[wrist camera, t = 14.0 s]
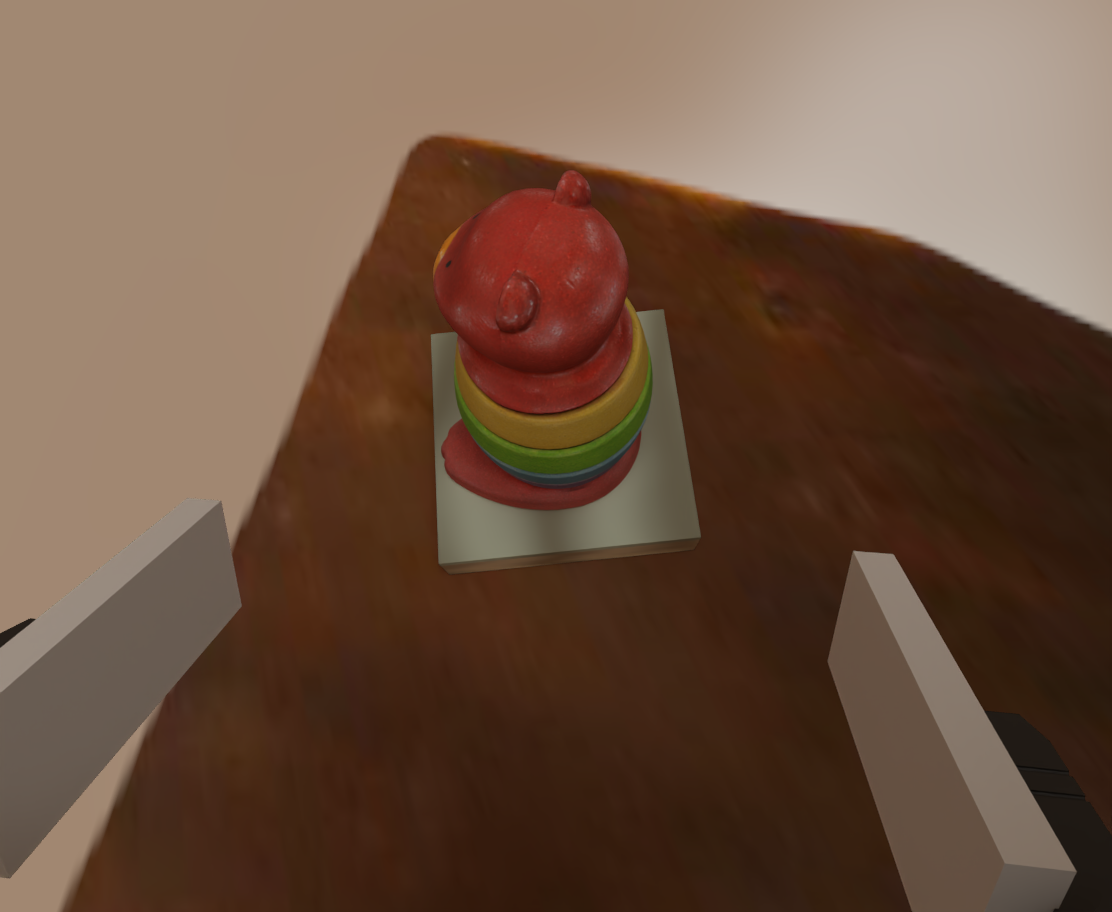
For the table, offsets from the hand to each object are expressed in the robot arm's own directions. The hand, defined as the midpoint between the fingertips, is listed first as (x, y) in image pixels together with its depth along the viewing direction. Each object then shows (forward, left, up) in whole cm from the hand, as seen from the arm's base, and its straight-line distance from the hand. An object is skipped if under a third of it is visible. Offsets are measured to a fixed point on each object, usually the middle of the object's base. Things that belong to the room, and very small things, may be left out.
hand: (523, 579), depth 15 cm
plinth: (-1, -13, -25) cm, 28 cm away
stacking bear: (-1, -13, -23) cm, 26 cm away
